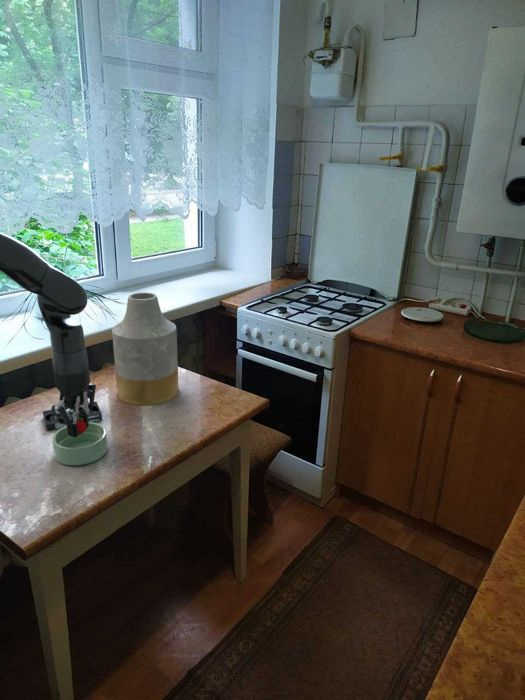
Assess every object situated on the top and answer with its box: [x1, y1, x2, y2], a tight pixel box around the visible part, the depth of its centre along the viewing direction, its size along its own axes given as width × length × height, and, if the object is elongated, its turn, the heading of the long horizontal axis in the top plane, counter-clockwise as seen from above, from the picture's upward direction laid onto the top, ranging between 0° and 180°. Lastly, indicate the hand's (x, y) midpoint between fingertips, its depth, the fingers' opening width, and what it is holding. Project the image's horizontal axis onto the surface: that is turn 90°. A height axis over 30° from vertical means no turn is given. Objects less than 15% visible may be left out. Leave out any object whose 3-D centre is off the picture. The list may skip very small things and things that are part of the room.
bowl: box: [51, 422, 109, 466], centre depth 120 cm, size 12×12×5 cm
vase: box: [111, 292, 180, 407], centre depth 147 cm, size 18×18×30 cm
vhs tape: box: [42, 401, 103, 432], centre depth 135 cm, size 14×8×2 cm, turn 117°
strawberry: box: [76, 417, 86, 435], centre depth 119 cm, size 4×4×4 cm
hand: (79, 431), depth 119 cm, fingers closed on strawberry, 3 cm apart
